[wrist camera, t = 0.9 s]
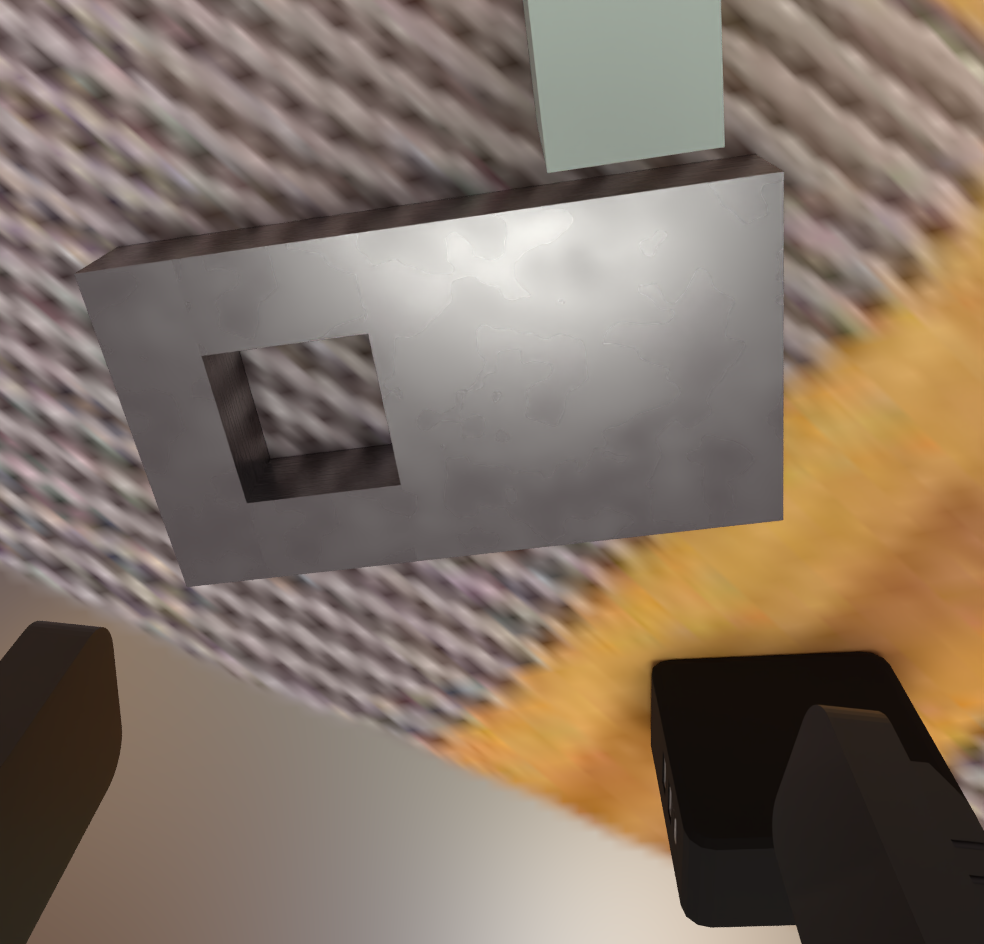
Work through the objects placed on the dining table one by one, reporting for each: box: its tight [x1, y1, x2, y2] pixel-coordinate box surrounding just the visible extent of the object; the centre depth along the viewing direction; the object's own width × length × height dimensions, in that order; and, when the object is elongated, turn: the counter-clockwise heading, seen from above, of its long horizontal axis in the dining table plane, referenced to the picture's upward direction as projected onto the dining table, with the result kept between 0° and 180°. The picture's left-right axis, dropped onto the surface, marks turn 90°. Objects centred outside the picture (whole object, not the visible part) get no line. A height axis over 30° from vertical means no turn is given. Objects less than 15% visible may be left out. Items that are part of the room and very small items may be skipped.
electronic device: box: [651, 652, 977, 927], centre depth 36 cm, size 4×10×10 cm, turn 94°
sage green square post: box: [523, 0, 725, 173], centre depth 24 cm, size 4×4×10 cm
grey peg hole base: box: [74, 154, 784, 587], centre depth 32 cm, size 22×12×4 cm, turn 98°
